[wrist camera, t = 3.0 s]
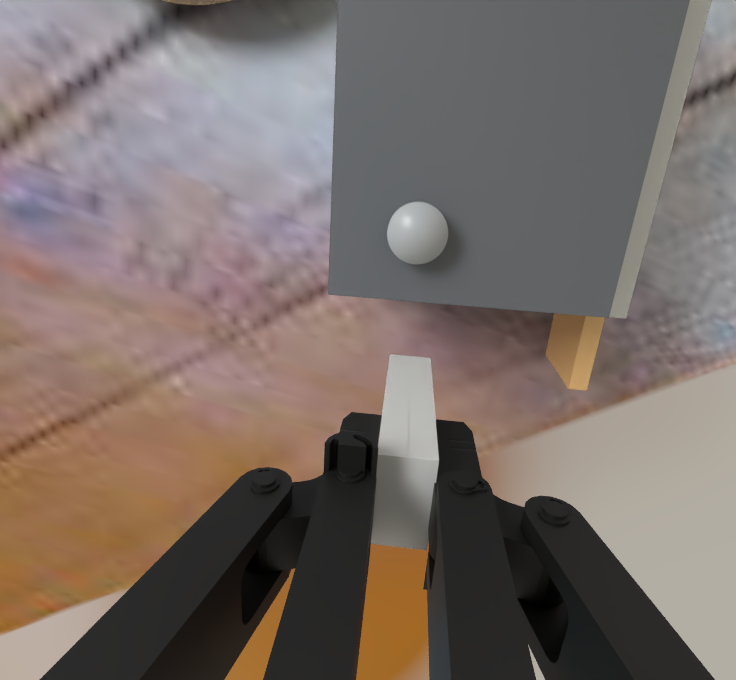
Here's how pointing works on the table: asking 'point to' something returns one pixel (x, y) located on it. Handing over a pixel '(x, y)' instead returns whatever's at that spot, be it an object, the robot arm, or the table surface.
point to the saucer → (196, 2)
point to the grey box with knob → (494, 147)
